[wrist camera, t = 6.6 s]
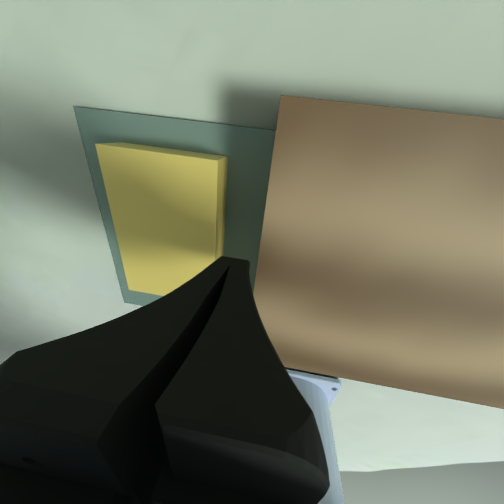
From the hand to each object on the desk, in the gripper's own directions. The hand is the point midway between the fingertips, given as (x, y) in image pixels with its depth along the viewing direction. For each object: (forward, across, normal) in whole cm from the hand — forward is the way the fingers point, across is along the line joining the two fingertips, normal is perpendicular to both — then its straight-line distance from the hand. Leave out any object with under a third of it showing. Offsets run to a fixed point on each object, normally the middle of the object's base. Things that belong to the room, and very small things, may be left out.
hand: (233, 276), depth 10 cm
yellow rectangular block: (+2, +4, 0) cm, 5 cm away
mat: (+5, +4, +1) cm, 7 cm away
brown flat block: (+5, -11, 0) cm, 12 cm away
